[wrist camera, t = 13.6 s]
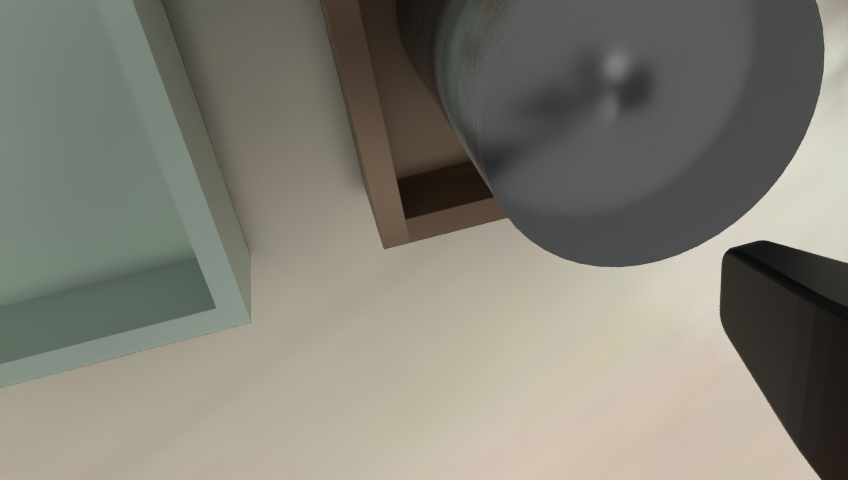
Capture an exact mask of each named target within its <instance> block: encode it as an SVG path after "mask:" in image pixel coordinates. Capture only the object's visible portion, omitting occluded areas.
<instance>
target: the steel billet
mask: <svg viewBox="0 0 848 480" xmlns="http://www.w3.org/2000/svg"><path fill="white" fill-rule="evenodd" d="M396 14H397V22H398V29H399V33H400V37H401V41H402V44H403V47H404V49H405V52H406V54H407V57H408V59H409V60H410V62H411V64H412V65H413V67H414V69H415V71H416V72H417V74H418V75H419V77H420V79H421V80H422V82H423V83H424V85H425V87H426V88H427V90H428V91H429V93H430V95H431V96H432V98H433V99H434V101H435V103H436V104H437V106H438V107H439V109H440V111H441V112H442V114H443V115H444V117H445V119H446V120H447V122H448V123H449V125H450V127H451V128H452V130H453V131H454V133H455V135H456V136H457V138H458V139H459V141H460V143H461V144H462V146H463V147H464V149H465V151H466V152H467V154H468V155H469V157H470V159H471V160H472V162H473V163H474V165H475V167H476V168H477V170H478V171H479V173H480V175H481V176H482V178H483V179H484V181H485V183H486V184H487V186H488V187H489V189H490V191H491V192H492V194H493V195H494V197H495V199H496V200H497V202H498V203H499V205H500V207H501V208H502V210H503V211H504V213H505V214H506V215H507V217H508V218H509V219H510V220H511V222H512V223H513V224H514V225H515V227H516V228H517V229H518V230H520V231H521V232H522V233H523V234H524V235H525V236H526V237H527V238H528V239H529V240H531V241H532V242H534V243H535V244H537V245H538V246H540V247H541V248H543V249H544V250H546V251H548V252H550V253H552V254H555V255H557V256H559V257H561V258H564V259H567V260H570V261H574V262H577V263H580V264H587V265H593V266H599V267H625V266H635V265H642V264H647V263H652V262H656V261H660V260H663V259H666V258H669V257H673V256H676V255H679V254H681V253H683V252H685V251H688V250H690V249H692V248H694V247H697V246H699V245H700V244H702V243H704V242H706V241H708V240H709V239H711V238H713V237H715V236H716V235H718V234H719V233H721V232H722V231H724V230H725V229H726V228H728V227H729V226H731V225H732V224H734V223H735V222H736V221H737V220H738V219H740V218H741V217H742V216H743V215H744V214H746V213H747V212H748V211H749V210H750V209H751V208H752V207H753V206H754V205H755V204H756V203H757V202H758V201H759V200H760V199H761V198H762V197H763V196H764V195H765V194H766V193H767V192H768V191H769V190H770V188H771V187H772V186H773V185H774V183H775V182H776V181H777V180H778V178H779V177H780V176H781V175H782V173H783V172H784V170H785V169H786V167H787V166H788V164H789V163H790V161H791V160H792V158H793V157H794V155H795V153H796V151H797V150H798V148H799V146H800V144H801V142H802V140H803V138H804V136H805V134H806V132H807V129H808V127H809V124H810V122H811V119H812V117H813V114H814V111H815V108H816V104H817V101H818V97H819V94H820V88H821V82H822V76H823V70H824V38H823V27H822V22H821V18H820V14H819V10H818V6H817V3H816V1H815V0H396Z"/></svg>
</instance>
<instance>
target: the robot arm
mask: <svg viewBox="0 0 848 480" xmlns="http://www.w3.org/2000/svg"><path fill="white" fill-rule="evenodd" d="M720 318H721V322H722V326H723V328H724V331H725V333H726V335H727V336H728V338H729V340H730V341H731V343H732V344H733V346H734V348H735V349H736V351H737V352H738V354H739V356H740V357H741V359H742V361H743V362H744V364H745V365H746V367H747V369H748V370H749V372H750V373H751V375H752V377H753V378H754V380H755V382H756V383H757V385H758V386H759V388H760V390H761V391H762V393H763V394H764V396H765V398H766V399H767V401H768V403H769V404H770V406H771V407H772V409H773V411H774V412H775V414H776V415H777V417H778V419H779V420H780V422H781V423H782V425H783V427H784V428H785V430H786V431H787V433H788V434H789V436H790V437H791V439H792V440H793V442H794V443H795V445H796V447H797V448H798V449H799V451H800V452H801V453H802V455H803V456H804V458H805V459H806V460H807V462H808V463H809V464H810V466H811V467H812V468H813V470H814V471H815V472H816V473H817V475H818V476H819V477H820V479H821V480H848V263H845V262H842V261H838V260H834V259H831V258H827V257H824V256H820V255H816V254H813V253H809V252H806V251H802V250H798V249H795V248H791V247H788V246H784V245H780V244H777V243H773V242H770V241H765V240H761V241H755V242H752V243H748V244H744V245H740V246H737V247H733V248H730V249H729V250H728V251H727V252H726V253H725V254H724V256H723V259H722V269H721V291H720Z"/></svg>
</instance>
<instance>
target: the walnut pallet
mask: <svg viewBox="0 0 848 480" xmlns="http://www.w3.org/2000/svg"><path fill="white" fill-rule="evenodd" d="M320 2H321V7H322V11H323V15H324V19H325V23H326V27H327V31H328V35H329V40H330V44H331V48H332V52H333V56H334V60H335V64H336V69H337V73H338V77H339V81H340V85H341V89H342V93H343V98H344V102H345V106H346V110H347V114H348V118H349V122H350V126H351V131H352V135H353V139H354V143H355V147H356V151H357V155H358V160H359V164H360V168H361V172H362V176H363V180H364V184H365V188H366V192H367V196H368V199H369V202H370V205H371V209H372V212H373V215H374V218H375V222H376V225H377V228H378V231H379V235H380V238H381V241H382V244H383V248H384V249H387V248H391V247H395V246H399V245H403V244H407V243H411V242H415V241H418V240H422V239H426V238H430V237H434V236H438V235H442V234H446V233H450V232H453V231H457V230H461V229H465V228H469V227H473V226H477V225H481V224H485V223H488V222H492V221H496V220H500V219H504V218H508V217H507V215H506V214H505V213H504V211H503V210H502V208H501V207H500V205H499V203H498V202H497V200H496V199H495V197H494V195H493V194H492V192H491V191H490V189H489V187H488V186H487V184H486V183H485V181H484V179H483V178H482V176H481V175H480V173H479V171H478V170H477V168H476V167H475V165H474V163H473V162H472V160H471V159H470V157H469V155H468V154H467V152H466V151H465V149H464V147H463V146H462V144H461V143H460V141H459V139H458V138H457V136H456V135H455V133H454V131H453V130H452V128H451V127H450V125H449V123H448V122H447V120H446V119H445V117H444V115H443V114H442V112H441V111H440V109H439V107H438V106H437V104H436V103H435V101H434V99H433V98H432V96H431V95H430V93H429V91H428V90H427V88H426V87H425V85H424V83H423V82H422V80H421V79H420V77H419V75H418V74H417V72H416V71H415V69H414V67H413V65H412V64H411V62H410V60H409V59H408V57H407V54H406V52H405V49H404V47H403V44H402V41H401V37H400V33H399V29H398V22H397V14H396V0H320Z"/></svg>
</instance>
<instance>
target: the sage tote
mask: <svg viewBox="0 0 848 480" xmlns="http://www.w3.org/2000/svg"><path fill="white" fill-rule="evenodd" d="M247 323H251V263H250V253H249V250H248V247H247V244H246V241H245V238H244V236H243V233H242V230H241V227H240V224H239V221H238V218H237V216H236V213H235V210H234V207H233V204H232V201H231V198H230V196H229V193H228V190H227V187H226V184H225V181H224V178H223V175H222V173H221V170H220V167H219V164H218V161H217V158H216V155H215V153H214V150H213V147H212V144H211V141H210V138H209V135H208V133H207V130H206V127H205V124H204V121H203V118H202V115H201V113H200V110H199V107H198V104H197V101H196V98H195V95H194V92H193V90H192V87H191V84H190V81H189V78H188V75H187V72H186V70H185V67H184V64H183V61H182V58H181V55H180V52H179V50H178V47H177V44H176V41H175V38H174V35H173V32H172V30H171V27H170V24H169V21H168V18H167V15H166V12H165V9H164V7H163V4H162V1H161V0H0V388H2V387H6V386H10V385H14V384H18V383H21V382H25V381H29V380H33V379H37V378H41V377H44V376H48V375H52V374H56V373H60V372H64V371H67V370H71V369H75V368H79V367H83V366H87V365H90V364H94V363H98V362H102V361H106V360H110V359H113V358H117V357H121V356H125V355H129V354H133V353H136V352H140V351H144V350H148V349H152V348H155V347H159V346H163V345H167V344H171V343H175V342H178V341H182V340H186V339H190V338H194V337H198V336H201V335H205V334H209V333H213V332H217V331H221V330H224V329H228V328H232V327H236V326H240V325H244V324H247Z"/></svg>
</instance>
